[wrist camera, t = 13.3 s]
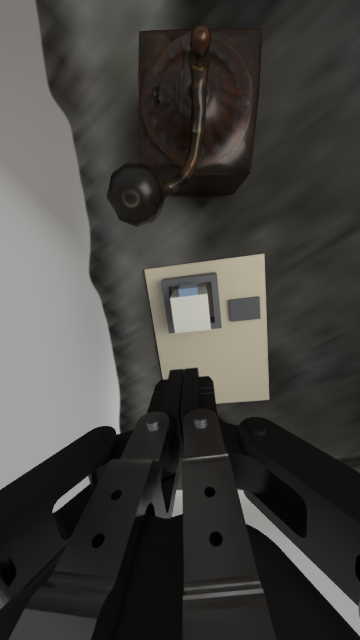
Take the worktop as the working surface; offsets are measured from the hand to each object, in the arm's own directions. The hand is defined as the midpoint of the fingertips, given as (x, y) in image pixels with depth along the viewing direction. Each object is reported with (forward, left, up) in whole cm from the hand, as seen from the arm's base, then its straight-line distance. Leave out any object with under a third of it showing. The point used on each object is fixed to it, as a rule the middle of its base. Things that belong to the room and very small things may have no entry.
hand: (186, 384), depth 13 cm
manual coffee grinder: (-2, -16, -23) cm, 28 cm away
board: (-2, +6, -23) cm, 24 cm away
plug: (0, 0, -22) cm, 22 cm away
